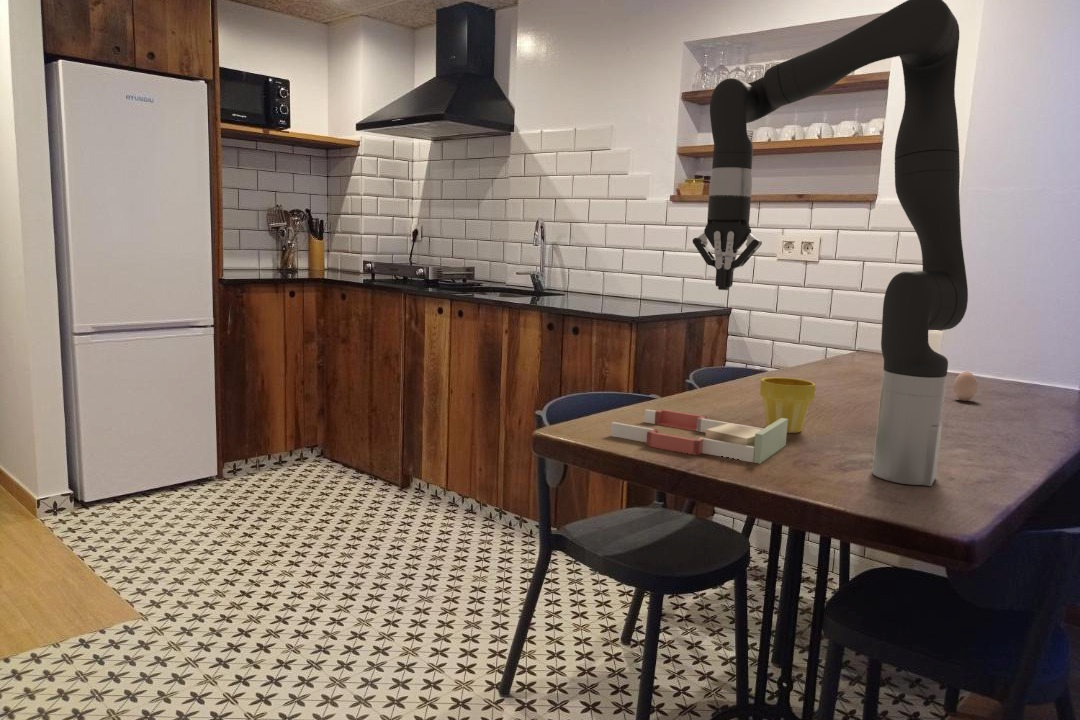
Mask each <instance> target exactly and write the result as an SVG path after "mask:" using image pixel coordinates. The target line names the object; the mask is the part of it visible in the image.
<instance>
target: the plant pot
mask: <svg viewBox="0 0 1080 720" xmlns="http://www.w3.org/2000/svg"><path fill="white" fill-rule="evenodd" d="M759 387H760V389H759V395H760V397H762V400H763V402H762V403H763V409H764V415H765V422H766V427H767V426H769V425H770V424H772V423H774V422H775V421H777V420H779V419H780V418H785V419H788V425H787V434H794V433H795V434H796V433H800V432H802V430H803V427H804V424H805V420H806V417H807V414H808V411H809V407H810V403H811V402H813V401H814V399H815V395H816V383H814V382H812V381H811V380H805V379H800V378H792V377H782V376H781V377H775V376H774V377H773V376H771V377H763V378H761V379H760V386H759Z"/></svg>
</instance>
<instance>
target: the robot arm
mask: <svg viewBox="0 0 1080 720" xmlns="http://www.w3.org/2000/svg"><path fill="white" fill-rule="evenodd" d="M959 45H960V27H959V23H958V20H957V18H956V17H955V15H954V13H953V11H952V9H950V7H949V6H948V4H947V3H946V2H945V1H944V0H906V1H904V2H901V3H900V4H899V5H897V6H895V7H893V8H891V9H889V10H887V11H886V12H884V13H883V14H881V15H879V16H877V17H875V18H874V19H873V20H871V21H869V22H867V23H865V24H863V25H861V26H860V27H857V28H855V29H854V30H852V31H850V32H848V33H847V34H844V35H842V36H841V37H839V38H836V39H835V40H833V41H831V42H828V43H826V44H823V45H822V46H819V47H817V48H814V49H812V50H809V51H807V52H805V53H802V54H799V55H798V56H795V57H792V58H790V59H787V60H785V61H783V62H780V63H777V64H775V65H773V66H771V67H770V68H768V69H767V70H766V71H765V72H764V75H763V76H762V77H760V78H758V79H756V80H754V81H750V82H748V83H747V82H745V81H744V80H743V81H742V80H740V79H737V78H734V77H733V78H725V79H723V80H722V81H719V83H718V84H717V85H716V86H715V87H714V89H713V92H712V93H711V98H710V101H709V116H710V117H709V118H710V126H711V136H712V139H713V151H712V152H713V153H712V154H713V155H712V165H711V175H710V179H709V180H710V181H709V187H708V203H707V205H708V206H707V223H706V225H705V227H704V228H703V229H704V230H703V233H702V234H700V235H699V236H698V237H693V239H692V243H693V245H694V247H695V248H696V250H697V252H698V253H699V254H700V256H701V258H703V260H704V262H705V264H706V265H708V266H710V267H714V268H715V270H716V271H715V287H717V289H718V290H719V291H720V290H721V291H729V290H730V288H731V287H732V286H733V283H734V271H735V270H736V269H737V268H740V267H744V266H745V264H746V263H747V262H748V261H749V259H750V258H752V256H753V255H754V254H755V253H756V252H757V251H758V249H759V248H760V247H761V246H762V244H763V242H762V240H761V239H757V237H755V236H754V235H753V234H752V229H751V227H750V219H751V218H750V217H751V215H750V214H751V202H752V190H753V189H752V188H753V178H752V177H753V175H752V172H753V171H752V169H753V167H752V166H753V157H754V156H753V154H754V144H753V140H752V139H751V137H750V136H749V135H748V130H747V129H748V128H747V127H748V125H747V124H750V123H752V122H755V121H758V120H760V119H762V118H764V117H766V116H767V115H769V114H772V113H773V112H775V111H776V110H778V109H779V108H781V107H784V106H786V105H790V104H792V103H796V102H798V101H800V100H804V99H806V98H810V97H812V96H815V95H817V94H819V93H821V92H823V91H825V90H827V89H829V88H831V87H832V86H833V85H835V84H836V83H838V82H839V81H841V80H843V79H844V78H846V77H847V76H849V75H850V74H852V73H853V72H855V71H858V70H859V69H861V68H863V67H865V66H866V67H867V66H868V65H871V64H874V63H876V62H879V61H885V60H887V59H891V58H892V59H893V58H898V57H899V59H900V62H901V66H902V71H903V82H904V106H903V107H904V108H903V113H902V117H901V120H900V124H899V128H898V131H897V136H896V142H895V149H894V187H895V193H896V195H897V198H898V201H899V204H900V205H901V207H902V210H903V211H904V214H905V215H906V217H907V219H908V220H909V222H910V224H911V226H912V227H913V230H914V231H915V233H916V236H917V238H918V241H919V245H920V251H921V260H922V261H921V264H922V270H905V271H901V272H899V273H897V274H895V275H894V276H893V277H892V278H891V280H890V281H889V283H888V284H887V286H886V289H885V293H884V298H883V303H882V304H883V305H882V319H881V321H882V323H881V340H880V348H881V354H882V357H883V370H882V376H881V377H882V378H881V388H880V393H879V394H880V396H879V403H878V413H877V423H876V424H877V425H876V433H875V441H874V450H873V451H874V452H873V458H872V468H871V470H872V471H871V473H872V475H874V476H875V477H877V478H880V479H882V480H885V481H888V482H893V483H898V484H902V485H903V484H904V485H913V486H914V485H915V486H919V485H920V486H927V487H932V486H933V484H934V482H935V481H936V478H937V473H938V472H937V471H938V462H939V454H940V446H941V445H940V444H941V437H942V431H943V420H942V417H943V409H944V408H943V407H944V401H945V394H946V385H947V377H948V376H947V375H948V369H949V360H948V358H947V357H946V356H944V355H943V354H941V353H938V352H937V351H935V350H933V348H932V347H931V346H930V344H929V331H947V330H951V329H954V328H955V327H957V326H958V325H960V323H961V322H962V321H963V318H964V317H965V315H966V312H967V308H968V302H969V301H968V300H969V290H968V287H969V286H968V280H967V273H966V271H967V270H966V263H965V258H964V257H965V256H964V249H963V240H962V239H963V238H962V227H961V225H962V224H961V206H960V205H961V204H960V177H961V176H960V174H961V173H960V169H961V168H960V165H961V164H960V163H961V162H960V143H959V142H960V141H959V139H960V138H959V128H958V127H959V126H958V114H957V108H956V107H957V106H956V96H955V94H956V93H955V92H956V91H955V90H956V89H955V88H956V87H955V86H956V75H957V62H958V54H959ZM745 242H746V243H745ZM709 243H710V245H711V247H712V248H713V249H714V255H713V253H712V252H711V250H710V249H709V246H708V245H709ZM744 244H745V246H746V247H745V249H744V250H743V251H742V252H741V253H740V254H739V256H738V251H739V249H741V248H742V246H744ZM737 256H738V257H737Z"/></svg>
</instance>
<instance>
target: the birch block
mask: <svg viewBox="0 0 1080 720" xmlns="http://www.w3.org/2000/svg"><path fill="white" fill-rule="evenodd" d="M727 423H728V424H724V425H721V426H717V427H713V428H710V429H706V433H705V437H704V438H707V439H713V440H718V441H724V442H730V443H735V444H741V445H747V446H752V447H754V444H755V433H757V432H759V431H760V430H759V429H754V428H750V427H745V426H740V425H741V424H740V425H736V424H737V423H733V424H731V423H732V422H727Z"/></svg>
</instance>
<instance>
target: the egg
mask: <svg viewBox="0 0 1080 720" xmlns="http://www.w3.org/2000/svg"><path fill="white" fill-rule="evenodd" d="M978 386H979V385H978V381H977V378H976V376H975V375H974V374H973V373H972V372H970V371H963V372H961V373H960V374H959V375H957V377H956V379H955V380H954V383H953V387H952V388H953V393H954V395H955V396H956V398H957V399H958V400H960V401H962V402H968V401H970V400H972V399H973V398H974V397H975V396H976V394H977V393H978V388H979V387H978Z"/></svg>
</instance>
